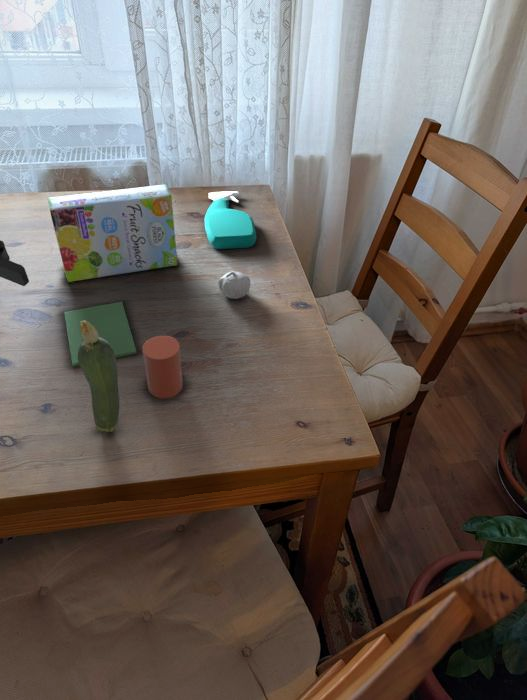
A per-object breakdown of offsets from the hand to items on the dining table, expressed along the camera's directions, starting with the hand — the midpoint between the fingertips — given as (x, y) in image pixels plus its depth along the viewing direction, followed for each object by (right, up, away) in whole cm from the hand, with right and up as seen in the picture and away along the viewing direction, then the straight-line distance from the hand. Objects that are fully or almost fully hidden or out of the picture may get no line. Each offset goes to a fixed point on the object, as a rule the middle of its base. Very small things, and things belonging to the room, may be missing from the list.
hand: (0, 303), depth 57 cm
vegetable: (+8, -16, +16) cm, 24 cm away
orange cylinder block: (+14, -11, +23) cm, 28 cm away
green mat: (+1, -2, +31) cm, 31 cm away
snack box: (+1, +11, +46) cm, 48 cm away
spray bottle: (+21, +24, +62) cm, 70 cm away
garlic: (+23, +5, +41) cm, 47 cm away
